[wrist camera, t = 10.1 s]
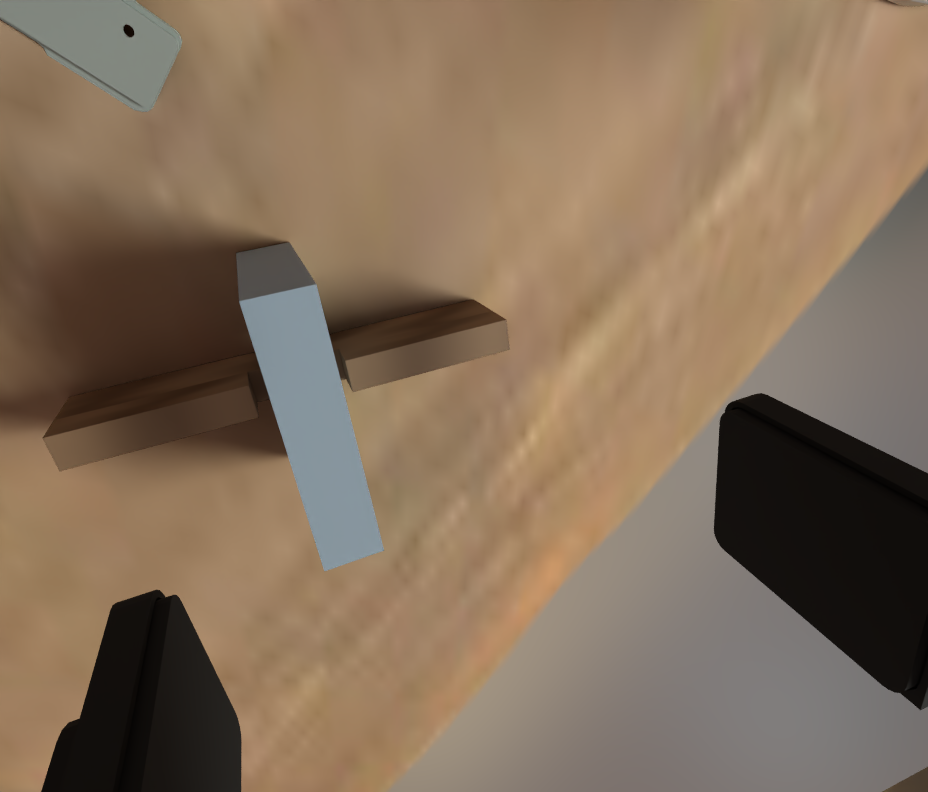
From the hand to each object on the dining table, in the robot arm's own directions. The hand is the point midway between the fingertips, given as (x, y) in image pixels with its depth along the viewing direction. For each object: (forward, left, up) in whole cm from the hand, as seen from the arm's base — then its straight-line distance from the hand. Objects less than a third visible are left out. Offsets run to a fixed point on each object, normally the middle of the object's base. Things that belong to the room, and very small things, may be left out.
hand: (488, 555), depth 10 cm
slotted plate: (+2, +2, -19) cm, 19 cm away
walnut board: (+2, +2, -19) cm, 19 cm away
